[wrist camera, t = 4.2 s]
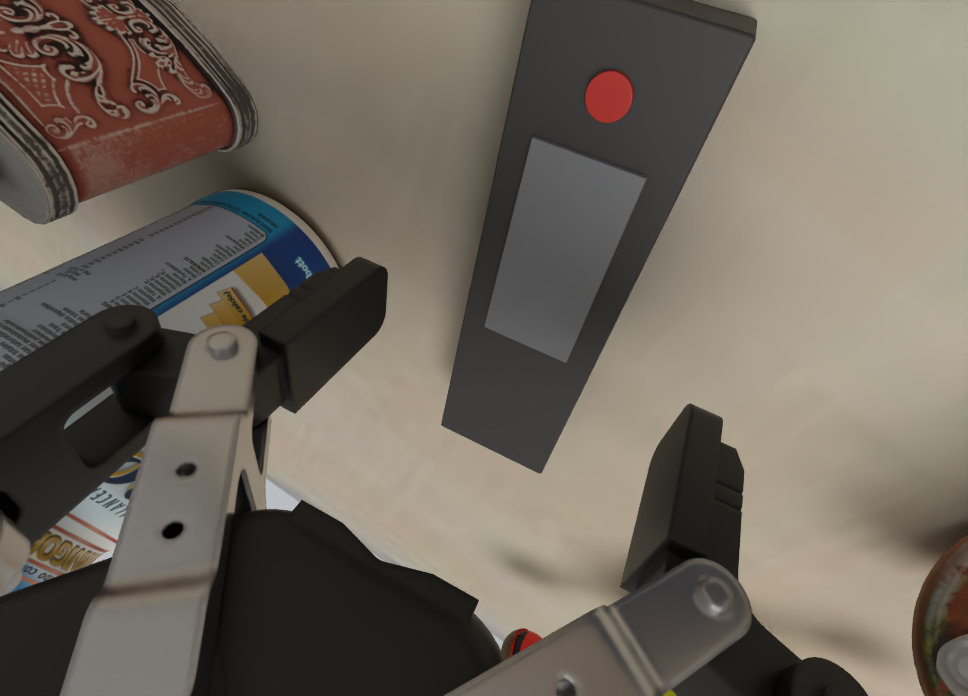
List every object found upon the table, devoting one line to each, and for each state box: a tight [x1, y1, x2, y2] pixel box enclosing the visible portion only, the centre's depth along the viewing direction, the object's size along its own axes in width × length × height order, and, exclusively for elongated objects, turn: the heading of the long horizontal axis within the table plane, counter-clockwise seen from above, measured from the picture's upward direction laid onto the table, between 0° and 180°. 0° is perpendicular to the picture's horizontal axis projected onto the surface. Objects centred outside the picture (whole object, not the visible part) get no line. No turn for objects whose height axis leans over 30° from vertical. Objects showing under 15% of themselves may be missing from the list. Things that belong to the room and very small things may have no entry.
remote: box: [441, 0, 757, 473], centre depth 15 cm, size 4×15×3 cm, turn 169°
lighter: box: [0, 0, 258, 225], centre depth 14 cm, size 8×3×10 cm, turn 52°
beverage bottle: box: [0, 189, 339, 593], centre depth 16 cm, size 8×8×20 cm
